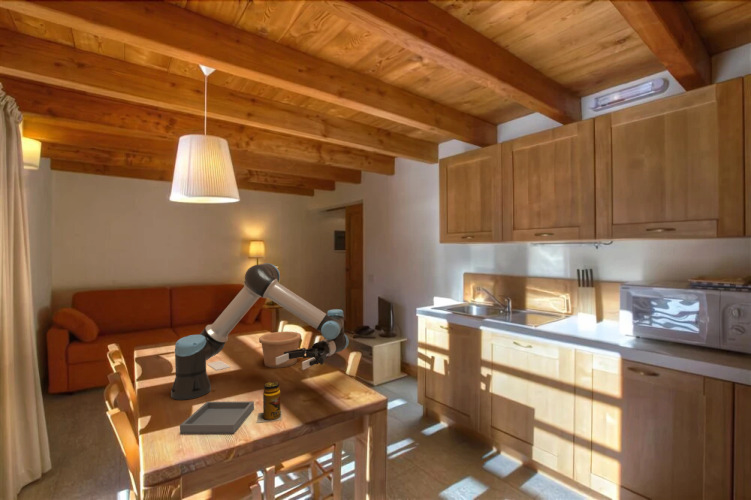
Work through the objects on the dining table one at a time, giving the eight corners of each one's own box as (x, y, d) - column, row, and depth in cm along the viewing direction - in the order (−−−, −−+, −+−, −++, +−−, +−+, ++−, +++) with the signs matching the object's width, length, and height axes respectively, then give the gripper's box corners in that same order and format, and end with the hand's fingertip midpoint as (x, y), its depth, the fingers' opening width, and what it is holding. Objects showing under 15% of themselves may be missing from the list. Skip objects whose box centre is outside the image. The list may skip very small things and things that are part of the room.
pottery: (298, 354, 204) (297, 329, 204) (304, 366, 183) (303, 338, 183) (258, 359, 196) (258, 333, 196) (260, 372, 175) (260, 343, 175)
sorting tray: (179, 434, 117) (179, 425, 117) (207, 409, 135) (207, 401, 135) (233, 434, 116) (233, 425, 116) (253, 409, 134) (253, 401, 134)
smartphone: (220, 360, 194) (230, 366, 183) (220, 361, 194) (231, 368, 183) (206, 363, 189) (216, 370, 178) (206, 365, 189) (216, 371, 178)
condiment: (281, 420, 126) (280, 386, 125) (256, 423, 124) (255, 389, 124) (282, 411, 133) (281, 379, 133) (258, 413, 131) (257, 381, 131)
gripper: (347, 361, 149) (314, 378, 130) (301, 354, 161) (266, 368, 143) (346, 343, 149) (314, 357, 130) (301, 337, 161) (265, 350, 143)
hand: (289, 363), depth 137 cm, fingers open, 13 cm apart
